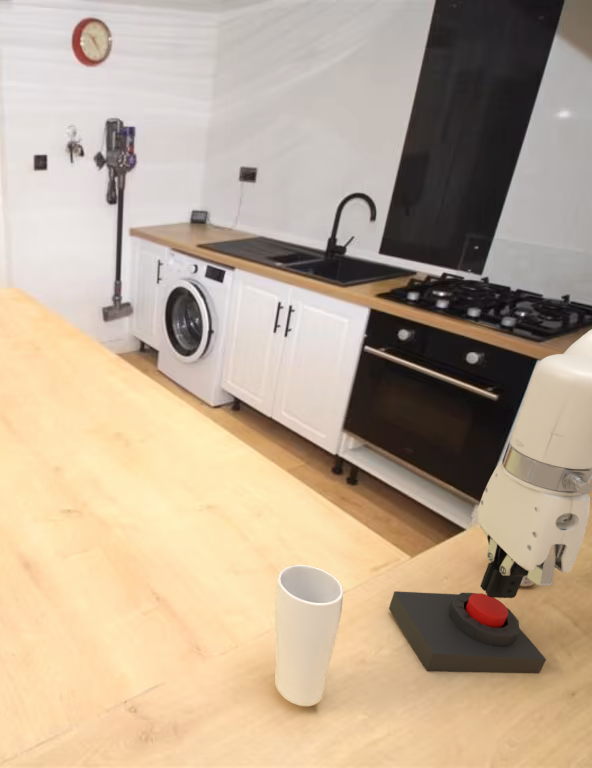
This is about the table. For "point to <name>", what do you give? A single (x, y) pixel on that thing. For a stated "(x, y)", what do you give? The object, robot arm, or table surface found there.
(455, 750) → the table surface
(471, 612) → the power button
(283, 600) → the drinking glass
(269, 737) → the table surface
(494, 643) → the power button base
